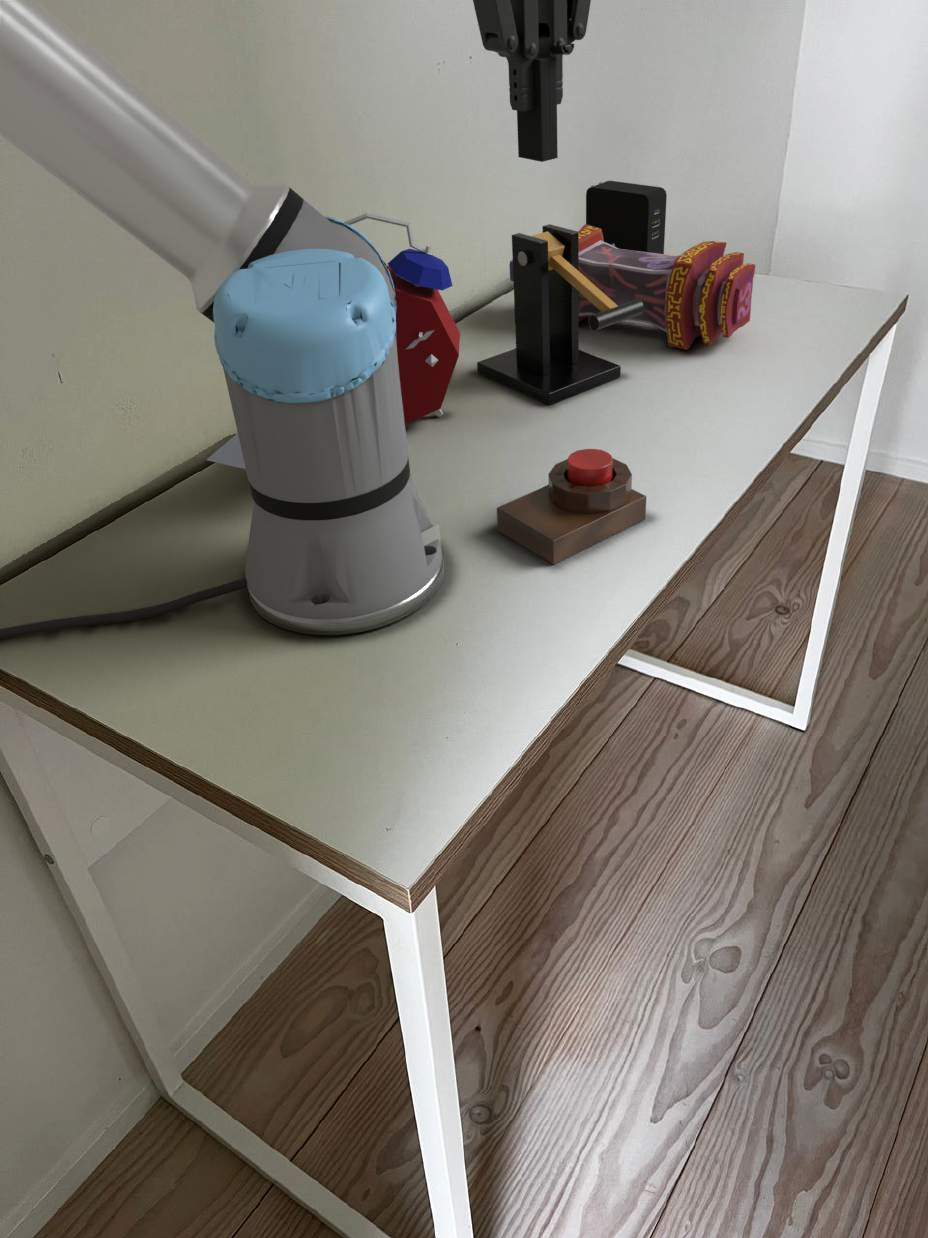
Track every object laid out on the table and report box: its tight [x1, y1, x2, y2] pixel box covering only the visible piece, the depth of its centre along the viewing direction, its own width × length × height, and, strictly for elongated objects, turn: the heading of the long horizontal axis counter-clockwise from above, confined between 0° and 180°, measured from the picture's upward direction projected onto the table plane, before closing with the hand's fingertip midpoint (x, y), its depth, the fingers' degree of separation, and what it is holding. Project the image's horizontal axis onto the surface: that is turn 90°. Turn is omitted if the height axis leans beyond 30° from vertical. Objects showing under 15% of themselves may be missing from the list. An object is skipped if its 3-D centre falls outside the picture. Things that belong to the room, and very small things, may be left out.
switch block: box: [496, 457, 647, 565], centre depth 80 cm, size 10×7×4 cm
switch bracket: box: [476, 223, 622, 406], centre depth 103 cm, size 12×10×15 cm
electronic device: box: [585, 180, 668, 254], centre depth 133 cm, size 4×10×10 cm, turn 47°
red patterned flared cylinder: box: [509, 223, 756, 351], centre depth 114 cm, size 10×9×30 cm
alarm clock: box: [344, 212, 461, 426], centre depth 94 cm, size 15×9×20 cm, turn 89°
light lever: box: [531, 231, 644, 332], centre depth 97 cm, size 13×6×2 cm, turn 37°
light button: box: [566, 448, 614, 487], centre depth 80 cm, size 4×4×2 cm
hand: (537, 156), depth 73 cm, fingers closed
